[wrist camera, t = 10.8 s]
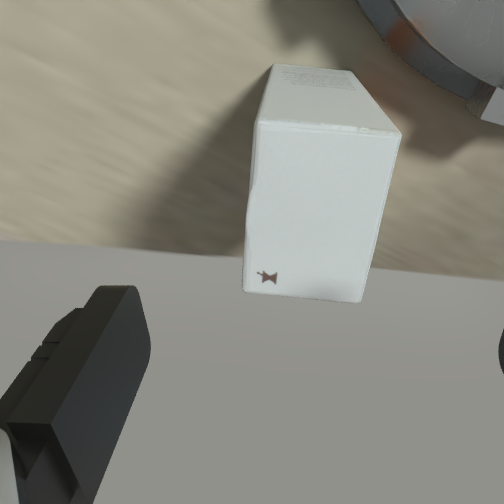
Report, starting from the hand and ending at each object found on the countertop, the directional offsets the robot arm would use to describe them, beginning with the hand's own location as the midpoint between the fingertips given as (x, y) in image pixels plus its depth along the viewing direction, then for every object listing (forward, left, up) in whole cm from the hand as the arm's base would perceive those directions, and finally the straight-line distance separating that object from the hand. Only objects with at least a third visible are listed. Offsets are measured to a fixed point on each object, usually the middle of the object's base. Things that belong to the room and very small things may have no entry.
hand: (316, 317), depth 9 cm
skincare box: (0, 0, -16) cm, 16 cm away
